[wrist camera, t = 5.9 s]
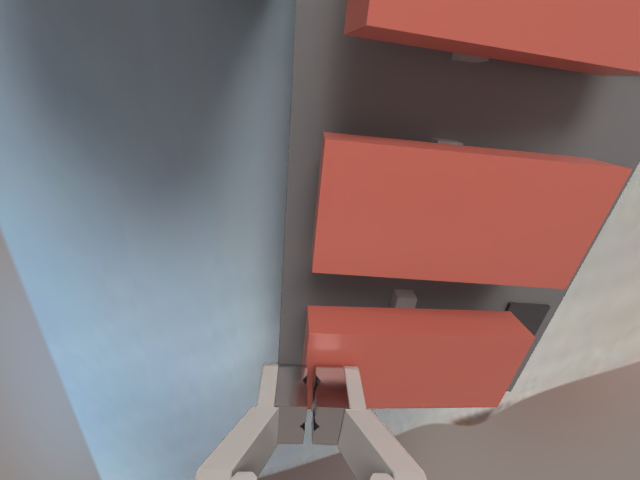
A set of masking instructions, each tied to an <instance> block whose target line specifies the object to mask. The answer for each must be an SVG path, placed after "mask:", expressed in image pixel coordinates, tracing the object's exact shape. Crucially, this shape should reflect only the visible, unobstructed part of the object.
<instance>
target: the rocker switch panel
mask: <svg viewBox="0 0 640 480" xmlns="http://www.w3.org/2000/svg"><path fill="white" fill-rule="evenodd" d="M346 8H347V0H296V12H295V32H294V53H293V73H292V94H291V114H290V134H289V155H288V175H287V195H286V216H285V236H284V257H283V277H282V297H281V318H280V338H279V358H278V363H284V364H299V365H302V357H303V347H304V337H305V326H306V316H307V306H308V305H309V306H344V307H380V308H415V309H450V310H485V311H511V312H512V313H513V315H514V316H515V317H516V318H517V319H518V320H519V321H520V322H521V323H522V324H523V325H524V326H525V327H526V328H527V329H528V330H529V331H530V332H531V333H532V334H533V335H534V336H535V337H536V338H535V339H534V341H533V343H532V345H531V347H530V348H529V350H528V352H527V354H526V356H525V358H524V359H523V361H522V363H521V365H520V367H519V368H518V370H517V372H516V374H515V376H514V378H513V379H512V381H511V383H510V385H509V387H508V388H507V390H506V391H511V390H512V388H513V387H514V385H515V383H516V381H517V379H518V378H519V376H520V374H521V372H522V370H523V369H524V367H525V365H526V363H527V362H528V360H529V358H530V356H531V354H532V353H533V351H534V349H535V347H536V346H537V344H538V342H539V340H540V338H541V337H542V335H543V333H544V331H545V329H546V328H547V326H548V324H549V322H550V321H551V319H552V317H553V315H554V313H555V312H556V310H557V308H558V306H559V304H560V303H561V301H562V299H563V297H564V296H565V294H566V292H567V290H568V288H569V287H570V285H571V283H572V281H573V279H574V278H575V276H576V274H577V272H578V271H579V269H580V267H581V265H582V263H583V262H584V260H585V258H586V256H587V255H588V253H589V251H590V249H591V247H592V246H593V244H594V242H595V240H596V238H597V237H598V235H599V233H600V231H601V230H602V228H603V226H604V224H605V222H606V221H607V219H608V217H609V215H610V213H611V212H612V210H613V208H614V206H615V205H616V203H617V201H618V199H619V197H620V196H621V194H622V192H623V190H624V189H625V187H626V185H627V183H628V181H629V180H630V178H631V176H632V174H633V172H634V171H635V169H636V167H637V165H638V164H639V162H640V75H639V76H599V75H593V74H587V73H580V72H574V71H568V70H561V69H555V68H549V67H542V66H536V65H530V64H524V63H517V62H511V61H505V60H498V59H492V58H486V57H479V56H473V55H467V54H460V53H454V52H448V51H441V50H435V49H429V48H423V47H416V46H410V45H404V44H397V43H391V42H385V41H378V40H372V39H366V38H359V37H353V36H347V35H344V26H345V17H346ZM323 132H331V133H341V134H351V135H361V136H371V137H382V138H392V139H402V140H412V141H422V142H432V143H443V144H453V145H463V146H473V147H483V148H494V149H504V150H514V151H524V152H534V153H544V154H555V155H565V156H575V157H585V158H591V159H595V160H599V161H603V162H607V163H611V164H615V165H619V166H623V167H627V168H631V169H632V171H631V173H630V175H629V176H628V178H627V180H626V182H625V184H624V185H623V187H622V189H621V191H620V193H619V194H618V196H617V198H616V200H615V202H614V203H613V205H612V207H611V209H610V211H609V212H608V214H607V216H606V218H605V220H604V221H603V223H602V225H601V227H600V229H599V230H598V232H597V234H596V236H595V238H594V239H593V241H592V243H591V245H590V246H589V248H588V250H587V252H586V254H585V255H584V257H583V259H582V261H581V263H580V264H579V266H578V268H577V270H576V272H575V273H574V275H573V277H572V279H571V281H570V282H569V284H568V286H567V288H566V289H554V288H539V287H524V286H509V285H493V284H478V283H463V282H448V281H433V280H418V279H402V278H387V277H372V276H357V275H342V274H326V273H312V242H313V231H314V221H315V210H316V200H317V190H318V179H319V169H320V158H321V148H322V137H323Z"/></svg>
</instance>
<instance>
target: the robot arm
mask: <svg viewBox="0 0 640 480" xmlns="http://www.w3.org/2000/svg"><path fill="white" fill-rule="evenodd" d="M306 383H307V365H299V364H284V363H265V362H264V365H263V369H262V375H261V381H260V387H259V394H258V400H257V406H252V407H251V408H250V409H249V410H248V411H247V413H246V414H245V415H244V416H243V417H242V418H241V420H240V421H239V422H238V423H237V424H236V425H235V426H234V428H233V429H232V430H231V431H230V432H229V433H228V435H227V436H226V437H225V438H224V439H223V440H222V441H221V443H220V444H219V445H218V446H217V447H216V448H215V450H214V451H213V452H212V453H211V454H210V455H209V456H208V458H207V459H206V460H205V461H204V462H203V463H202V465H201V466H200V467H199V468H198V469H197V472H196V476H195V479H194V480H257V477H258V476H259V474H260V472H261V471H262V469H263V467H264V466H265V464H266V463H267V461H268V459H269V458H270V456H271V454H272V453H273V451H274V450H275V448H276V446H277V444H303V438H304V431H305V422H306V414H307V386H306ZM311 411H312V412H313V416H312V444H322V445H338V446H337V447H338V449H339V450H340V452H341V453H342V455H343V457H344V459H345V461H346V462H347V464H348V466H349V467H350V469H351V471H352V473H353V474H354V476H355V478H356V479H357V480H427V478H426V475H425V472H424V471H423V470H422V469H421V468H420V467H419V465H418V464H417V463H416V462H415V461H414V460H413V458H412V457H411V456H410V455H409V454H408V453H407V451H406V450H405V449H404V448H403V447H402V445H401V444H400V443H399V442H398V441H397V440H396V438H395V437H394V436H393V435H392V434H391V433H390V431H389V430H388V429H387V428H386V427H385V426H384V424H383V423H382V422H381V421H380V420H379V418H378V417H377V416H376V415H375V414H374V413H373V411H372V410H367V408H366V403H365V398H364V393H363V388H362V383H361V377H360V372H359V368H358V367H357V366H337V365H315V368H314V381H313V383H312V394H311Z"/></svg>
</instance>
